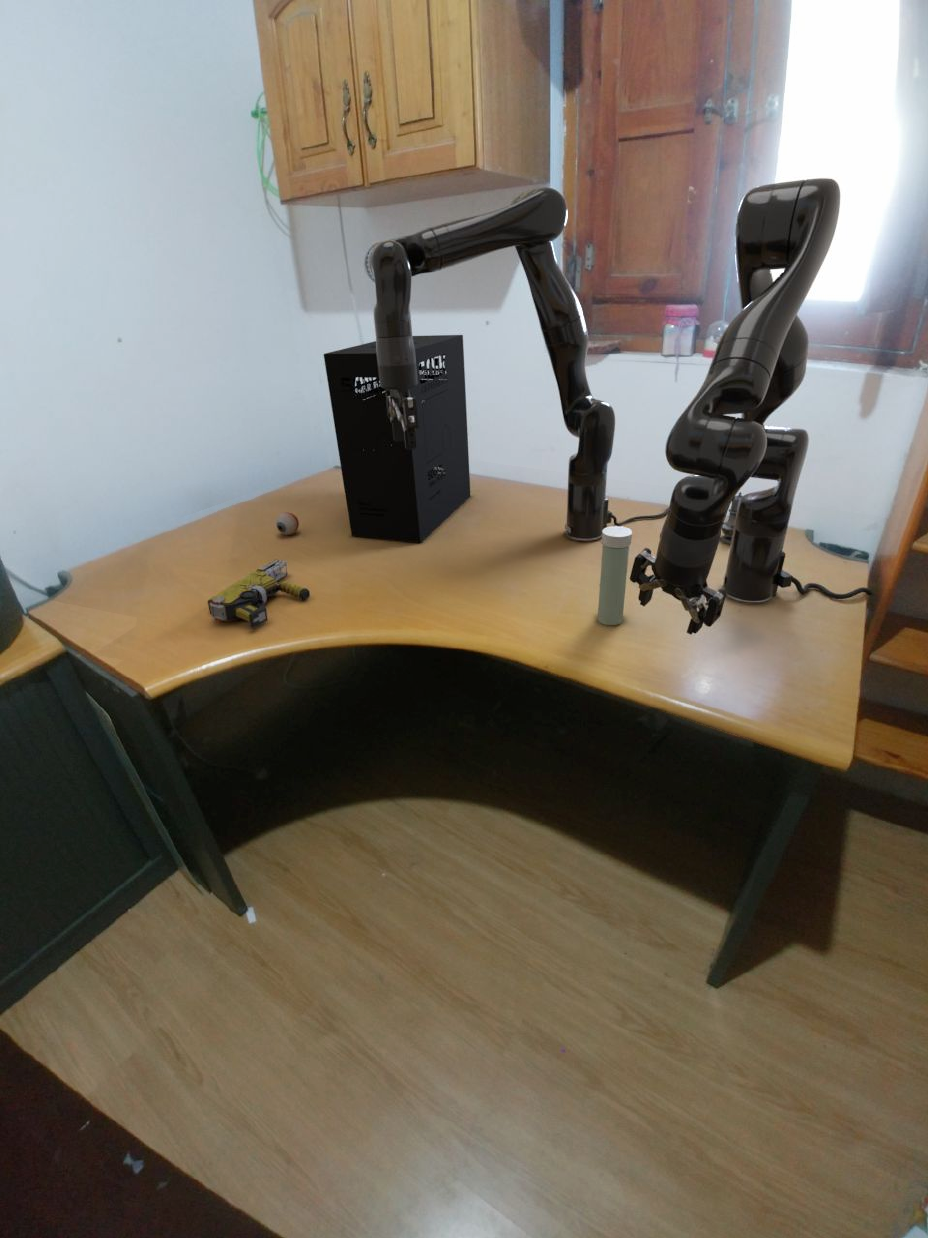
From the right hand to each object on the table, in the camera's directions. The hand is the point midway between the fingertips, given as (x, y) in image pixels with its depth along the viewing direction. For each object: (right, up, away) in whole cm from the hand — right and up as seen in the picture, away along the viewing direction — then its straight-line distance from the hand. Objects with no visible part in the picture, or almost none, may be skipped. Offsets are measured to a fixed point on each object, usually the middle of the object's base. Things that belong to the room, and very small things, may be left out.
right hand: (668, 616), depth 96 cm
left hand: (-45, +36, +30) cm, 65 cm away
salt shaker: (+33, +19, +51) cm, 63 cm away
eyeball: (-80, +23, +70) cm, 109 cm away
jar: (-4, 0, +22) cm, 22 cm away
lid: (-5, +15, +13) cm, 20 cm away
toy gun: (-74, +3, +35) cm, 82 cm away
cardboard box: (-46, +29, +78) cm, 95 cm away
